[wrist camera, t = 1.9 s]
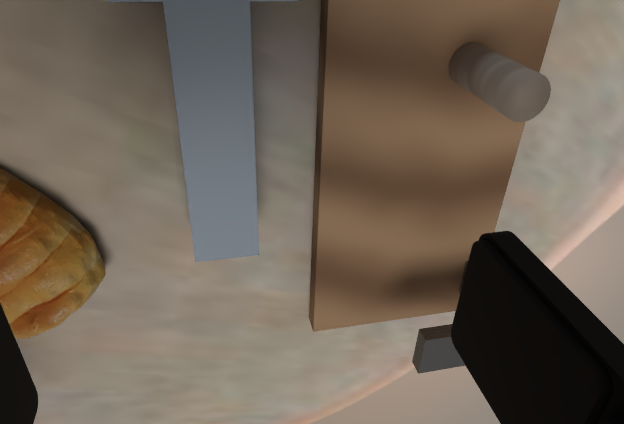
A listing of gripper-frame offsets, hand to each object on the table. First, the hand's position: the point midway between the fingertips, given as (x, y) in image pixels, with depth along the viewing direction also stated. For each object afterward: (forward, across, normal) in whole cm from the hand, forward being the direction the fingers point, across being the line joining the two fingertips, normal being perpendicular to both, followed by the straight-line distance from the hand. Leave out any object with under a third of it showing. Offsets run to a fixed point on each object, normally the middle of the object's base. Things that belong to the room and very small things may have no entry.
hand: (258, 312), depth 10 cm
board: (+15, -10, +5) cm, 19 cm away
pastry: (+15, +11, +7) cm, 20 cm away
